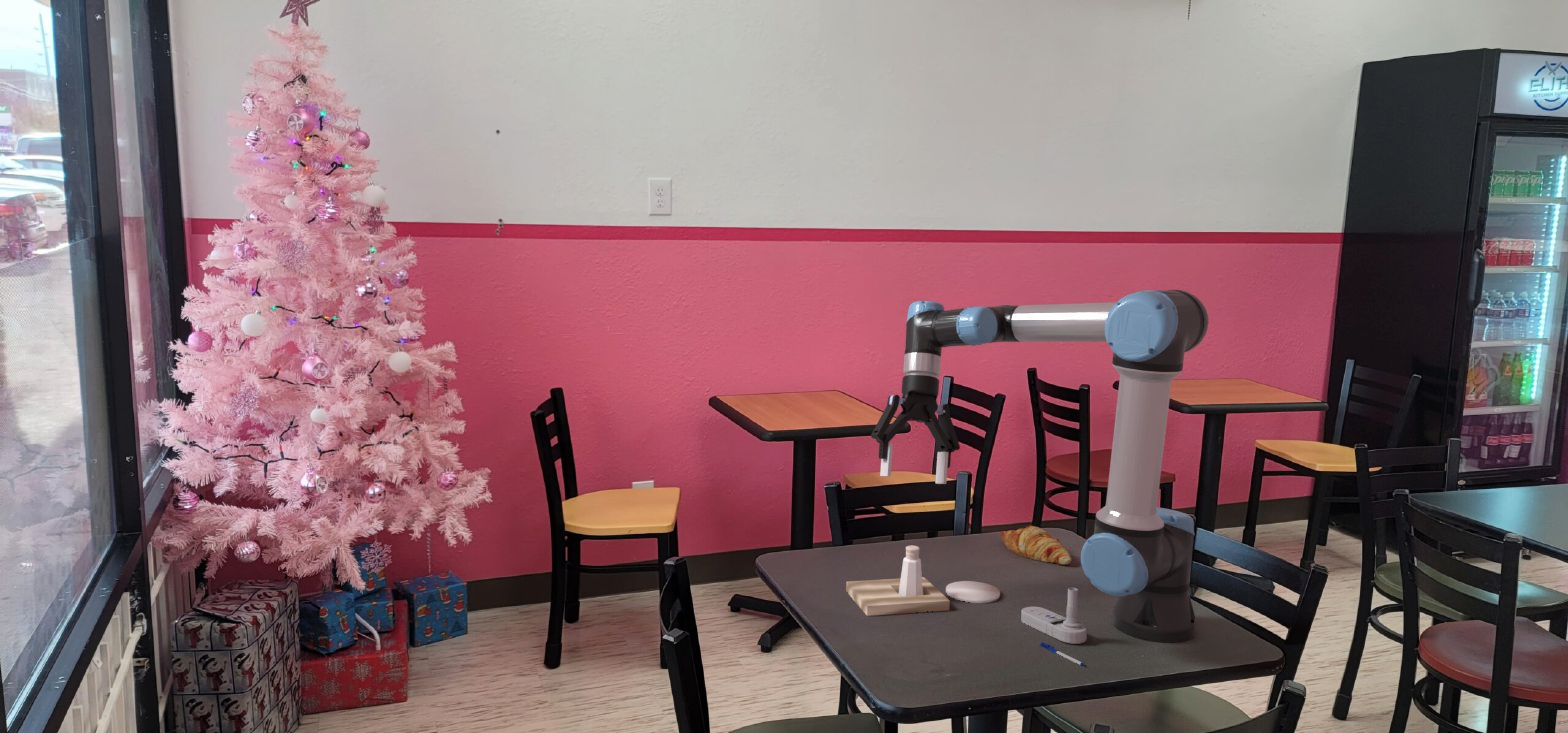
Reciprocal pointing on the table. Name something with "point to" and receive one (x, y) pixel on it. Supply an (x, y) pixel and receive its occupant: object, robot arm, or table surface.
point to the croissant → (1036, 545)
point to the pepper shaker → (911, 573)
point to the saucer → (972, 592)
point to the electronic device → (1057, 621)
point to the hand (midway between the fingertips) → (913, 480)
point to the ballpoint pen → (1061, 654)
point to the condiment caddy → (894, 597)
